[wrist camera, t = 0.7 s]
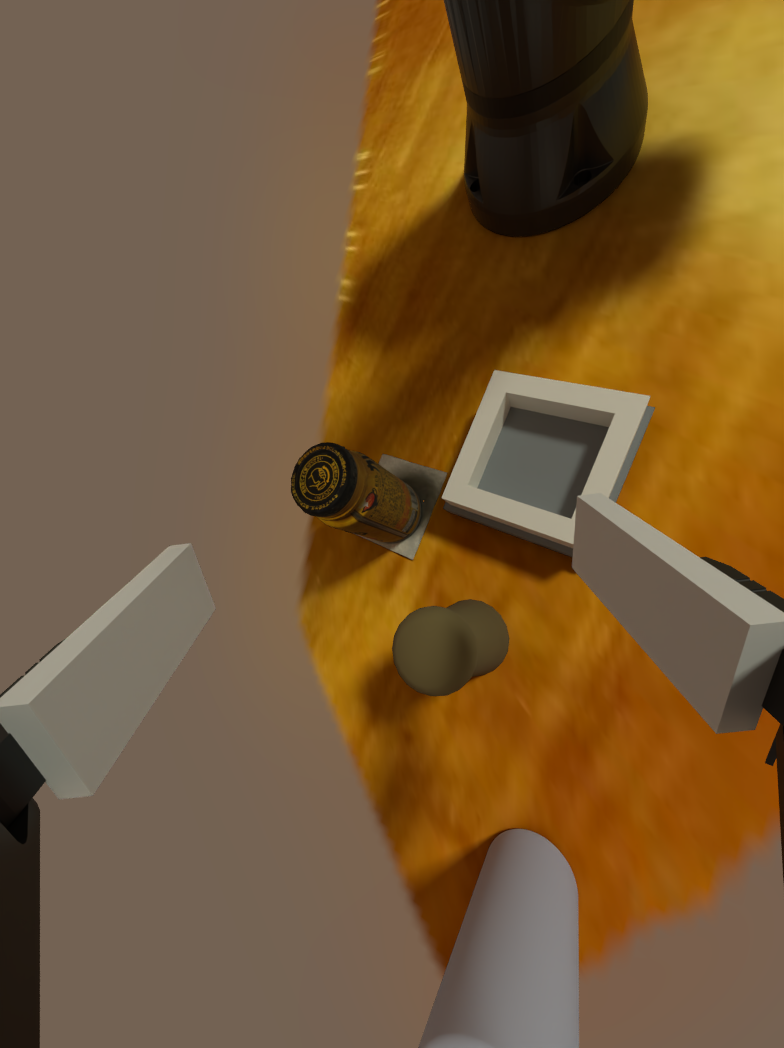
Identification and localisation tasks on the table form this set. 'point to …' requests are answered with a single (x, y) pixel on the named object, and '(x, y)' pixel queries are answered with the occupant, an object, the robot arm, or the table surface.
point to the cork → (449, 646)
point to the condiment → (367, 495)
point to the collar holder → (544, 455)
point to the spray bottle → (513, 954)
